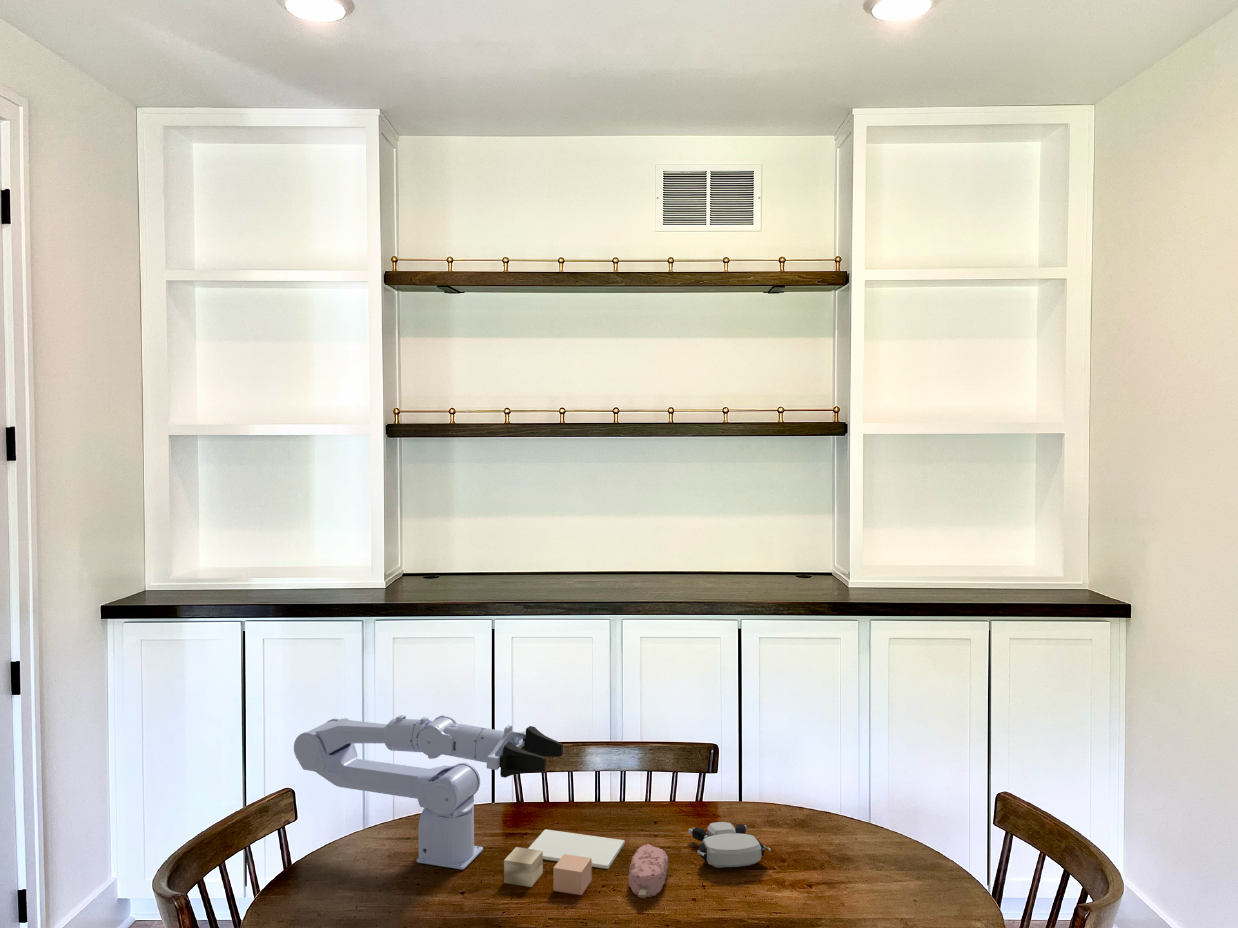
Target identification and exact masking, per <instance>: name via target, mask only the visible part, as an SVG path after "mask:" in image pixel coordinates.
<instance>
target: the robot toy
mask: <svg viewBox="0 0 1238 928" xmlns="http://www.w3.org/2000/svg"><path fill="white" fill-rule="evenodd" d="M747 828H748V827H747V825H745V824H742V823H739V824H736V827H735V826H734V825H733V824H732V823H730V822H726V821H717V822H711V823H709V825H708V826H707V831H706V830H705V829H703V828H701V827H699V826H696V827H693V828H689V829H688V831H687V832H688V834H689V835H692V838H693V839H695V840H697V841H700V844H699V846H698V850H697V855H699V856H700V858H702V860H703V861H704V862H707V863H708V865H711V866H712V867H714V868H716V869H717V868H718V869H722V868H733V867H734V868H737V867H747V866H751V865H754V864H756V863H758V862H759V861H761V858H762V857H763V856H765V850H767V851H769V852H771V848H770V847H766V845H764V844H763V842H761V841H760V840H759V839H758V838H756V837H755V836H754V835H752V834H747ZM701 841H702V842H701Z"/></svg>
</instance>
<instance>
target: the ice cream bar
mask: <svg viewBox="0 0 1238 928" xmlns="http://www.w3.org/2000/svg"><path fill="white" fill-rule="evenodd" d="M668 868H669V856H668V855H667V853H666V851H665V850H664V849H663V848H661V847H656V846H653V845H651V844H650V843H646V844H644V845H641V846H639V848H637V850H636V851H635V853H634V855H632V857H631V863H630V864H629V868H628V870H629V873H628V877H627V878H628V885H629V887H630V888H631V891H632V893H633V894H634V895H636V896H637V897H638V898H642V899H646V898H651V897H654V896H657V894H660V892H661V890H663V886H664V884H665V883H666V879H667V874H668Z"/></svg>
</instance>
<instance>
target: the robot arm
mask: <svg viewBox="0 0 1238 928" xmlns="http://www.w3.org/2000/svg"><path fill="white" fill-rule="evenodd" d="M355 744H384V745H385V746H386V748H387V749H388V750H389V751H392V752H410V753H411V752H412V753H423V754H424V755H426V756H427V757H428V759H430V760H431V759H432V760H435V759H437V758H439V757H440V756H442V755H444V756H448V757H455V758H459V759H463V760H469V761H474V762H481V763H486V769H489V770H494V771H498V770H499V768H500V772H499V773H500V777H501V778H504V779H505V778H508V777H510V776H514V775H519V774H525V773H541V772H545V771H546V769H547V767H546V764H547V763H546V762H547V758H546V757H549V758H559V757H562V756H563V754H564V753H563V752H564V744H563V743H562V742H560V741H558V740H555V739H554V738H550V737H549V736H546V735H545V734H543V733H542V732H541V731H539V729H537V727H535V726H533V725H532V726H531V725H529V726H528V727H526V728H525V730H522V731H513V726H512V725H507V726H505V727H504V730H501V729H500V730H499V729H494V728H493V729H492V728H487V727H481V726H475V725H469V724H463V723H457V722H456V720H455V719H453V718H452V717H450V716H445V715H439V716H437V717H436V718H435V719H434V720H431V719H429V717H427V716H425V717H424V716H423V717H422V718H419V719H418V718H414V719H413V718H407V715H403V714H402V715H398V716H396V717H395V718H393V719H391V720H390V721H389V722H387V724H384V723H377V722H369V721H361V720H360V721H359V720H350V719H349V718H346V717H345V718H341V719H340V718H331V719H329V720H327V721H326V722H325V723H323V724H320V725H318V726H317V727H314V728H313V729H310V730H308V731H305V732H302V733H300V734H299V735H298V736H297V737H296V738H295V740H294V743H293V752H294V756H295V758H296V759H297V762H298V764H299V765H300V767H301V768H302V770H304V771H309V772H314V773H316V774H318V775H319V776H320V777H322V778H324V779H325V780H327V781H328V782H329V783H330V784H333V785H334V786H335V787H339V788H344V789H349V790H358V791H363V792H370V793H371V792H372V793H376V794H384V795H391V796H397V797H404V798H410V799H416V800H417V802H418V805H419V807H420V808H423V810H422V811H421V814H420V816H419V821H418V858H416V863H419V864H425V865H431V866H438V867H444V868H450V869H451V868H452V869H456V870H464V869H465V868H467V867H468V866H469V865H470V863H472V862H473V860H474V859H476V858H477V857H478V856H480V855H479V854H481V853H482V852H483V851H484V847H483V846H479V845H478V846H477V845H475V819H474V816H475V813H474V812H475V811H474V809H475V804H474V802H475V795H476V794H477V793H478V791H479V788H480V786H481V777H480V775H479V772H478V771H477V769H476V767H474V766H473V765H471V764H470V763H467V762H461V763H457V764H454V765H441V766H436V767H431V768H427V767H420V766H419V767H417V766H411V765H405V764H398V763H389V762H383V761H374V760H368V759H361V758H358V753H357V750H356V749H357V748H356V745H355Z"/></svg>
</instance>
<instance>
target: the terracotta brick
mask: <svg viewBox="0 0 1238 928" xmlns="http://www.w3.org/2000/svg"><path fill="white" fill-rule="evenodd" d="M592 868H593V867H592V858H588V857H581V856H574V855H567V854H564V855H563V856H562V857H561V859H560V860H559V861H557V863H556V864H555V865H554V866H553V871H552V872H553V873H552V874H553V892H554V891H555V892H559V893H564V894H565V893H566V894H573V895H579V896H582V895H583V894H584V892H585V891H586V889H587V888H588V887H589V885H590V884H591V882H592V881H593V880H592V875H593V873H592V871H593V869H592Z"/></svg>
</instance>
